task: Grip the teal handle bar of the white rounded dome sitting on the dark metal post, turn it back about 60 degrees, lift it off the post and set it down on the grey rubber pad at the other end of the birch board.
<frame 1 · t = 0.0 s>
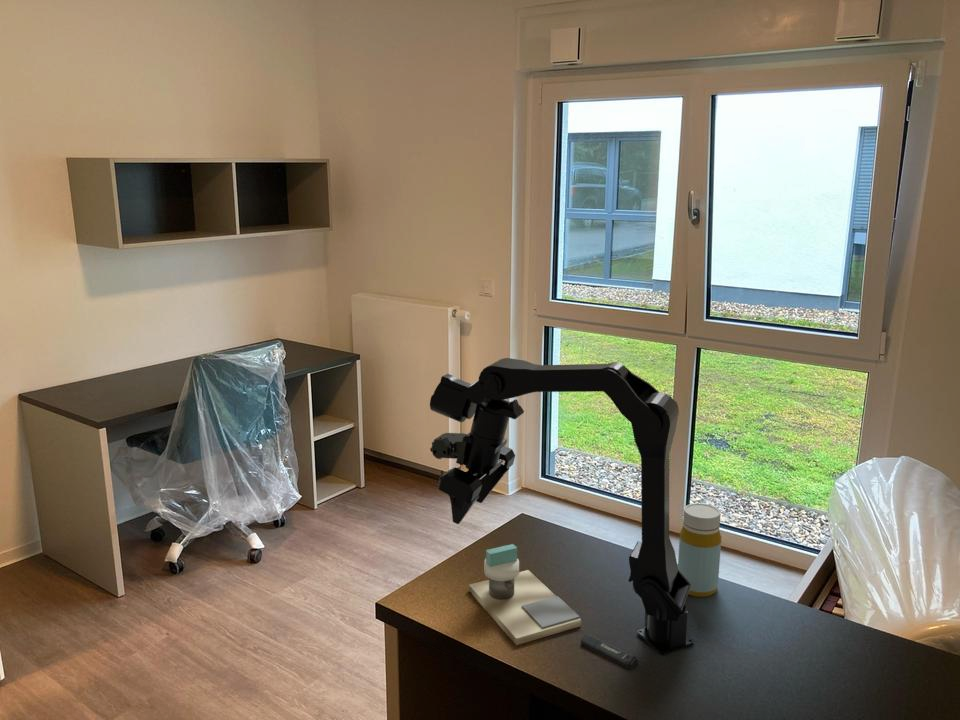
hand: (467, 512, 133), 15 cm above the table, tool pointing down, fingers open, 9 cm apart
bottle: (696, 589, 138), on the table
board: (522, 607, 132), on the table
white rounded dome: (501, 572, 133), point 5 cm above the table, touching board
usb stick: (608, 656, 120), on the table
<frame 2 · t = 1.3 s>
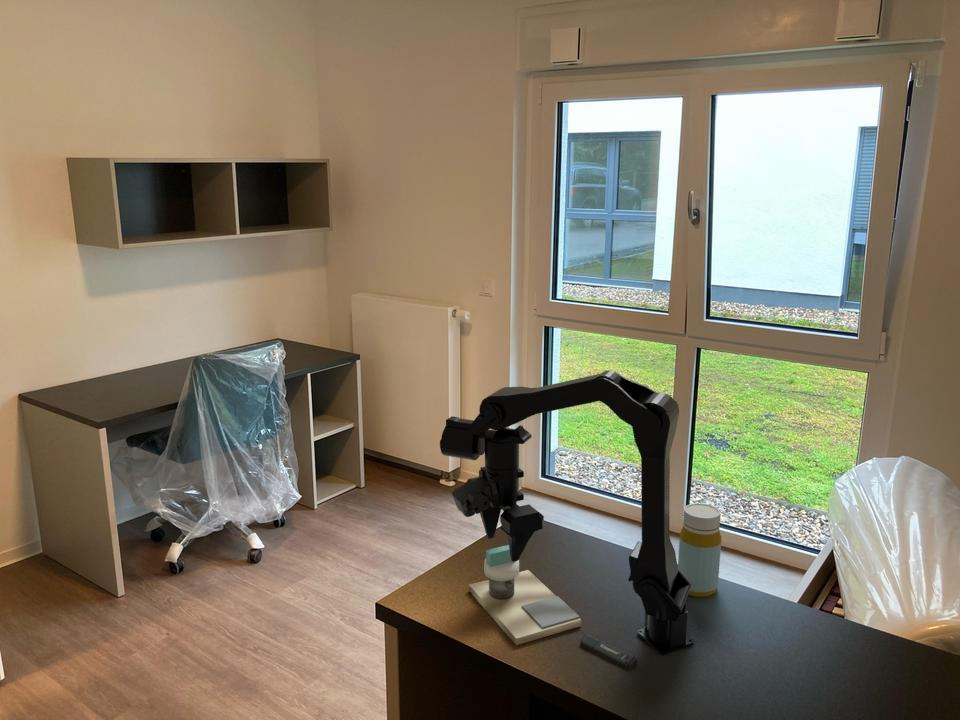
hand: (502, 549, 132), 10 cm above the table, tool pointing down, fingers open, 9 cm apart
nothing on the table moved.
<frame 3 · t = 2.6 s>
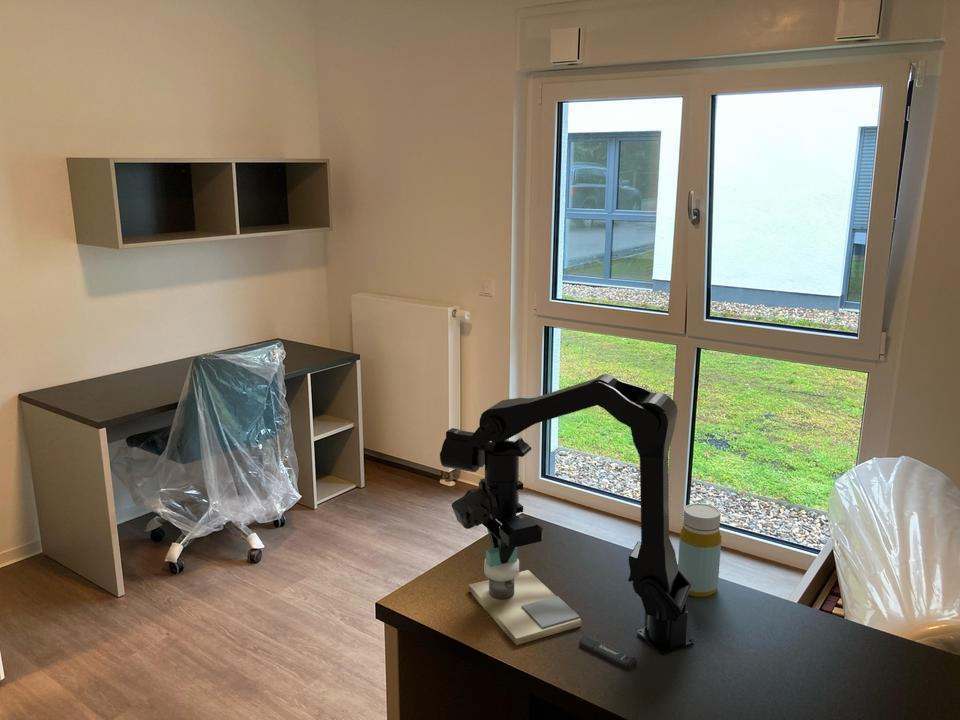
hand: (501, 560, 133), 7 cm above the table, tool pointing down, fingers closed on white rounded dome, 2 cm apart
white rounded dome: (501, 572, 133), point 5 cm above the table, touching board, gripper
everything else where it was.
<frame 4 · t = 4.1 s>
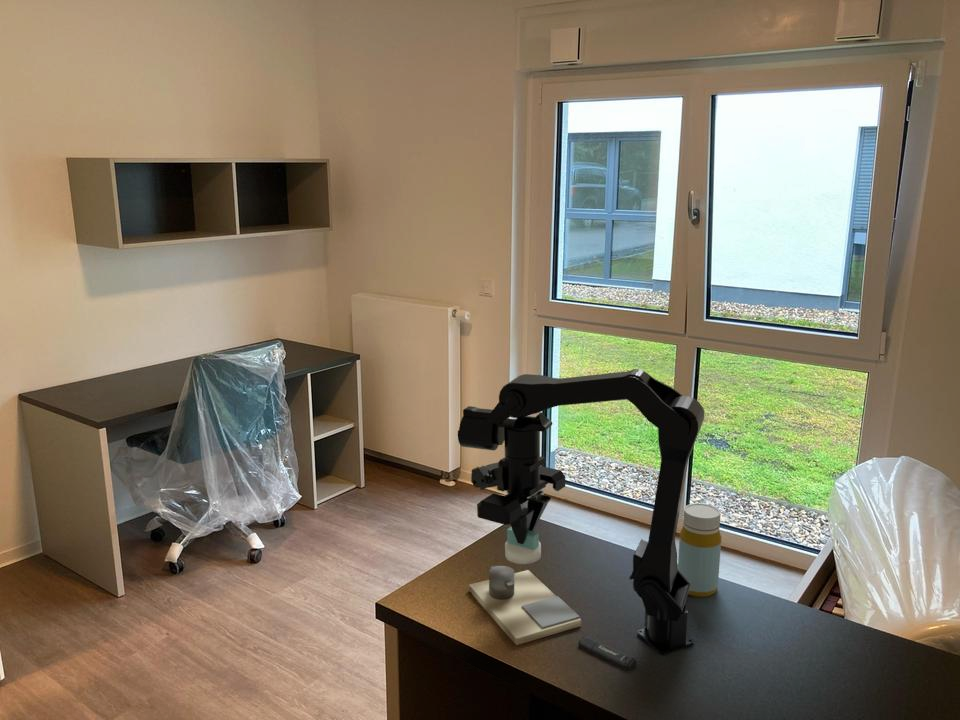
hand: (523, 541, 129), 12 cm above the table, tool pointing down, fingers closed on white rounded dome
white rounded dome: (523, 555, 130), point 10 cm above the table, touching gripper
everything else where it was.
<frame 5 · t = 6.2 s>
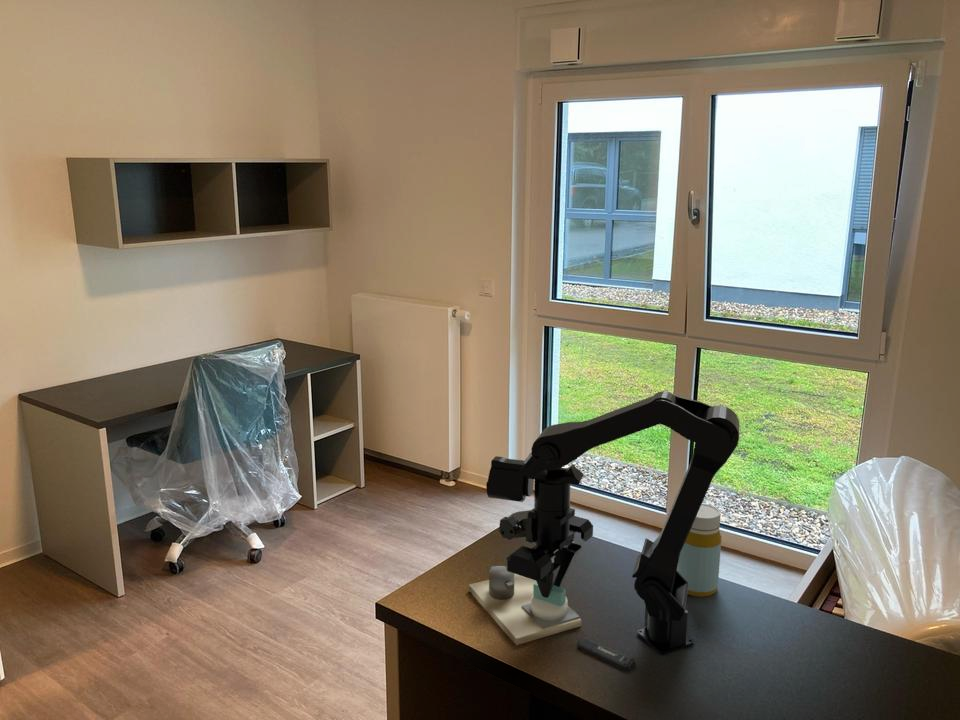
hand: (550, 592, 127), 5 cm above the table, tool pointing down, fingers open, 3 cm apart
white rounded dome: (549, 610, 128), point 1 cm above the table, touching board
everything else where it was.
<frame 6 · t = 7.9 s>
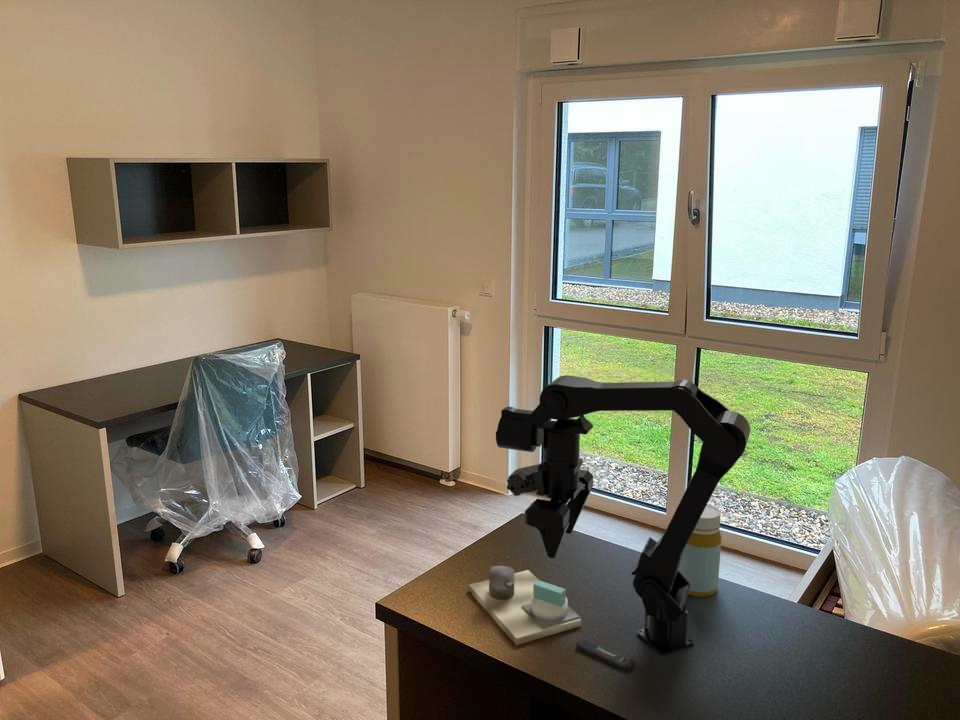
hand: (560, 544, 127), 13 cm above the table, tool pointing down, fingers open, 9 cm apart
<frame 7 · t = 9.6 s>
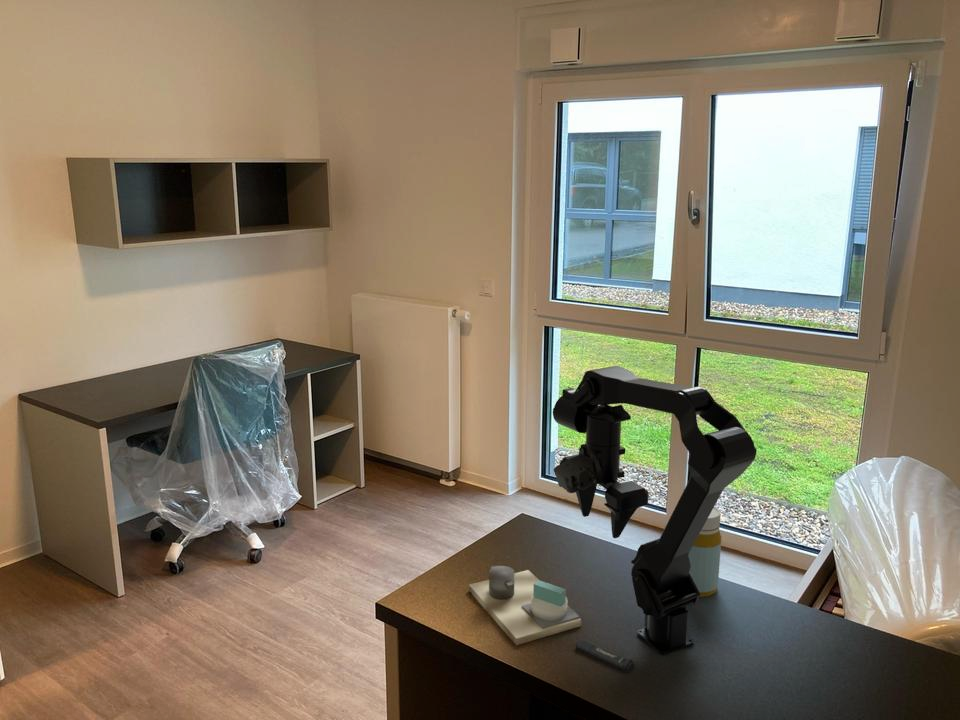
hand: (600, 526, 133), 13 cm above the table, tool pointing down, fingers open, 9 cm apart
at the end: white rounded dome inside the target area (0.2 cm from its centre), point 1.5 cm above the table; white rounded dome tilted 0°; the gripper is holding nothing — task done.
